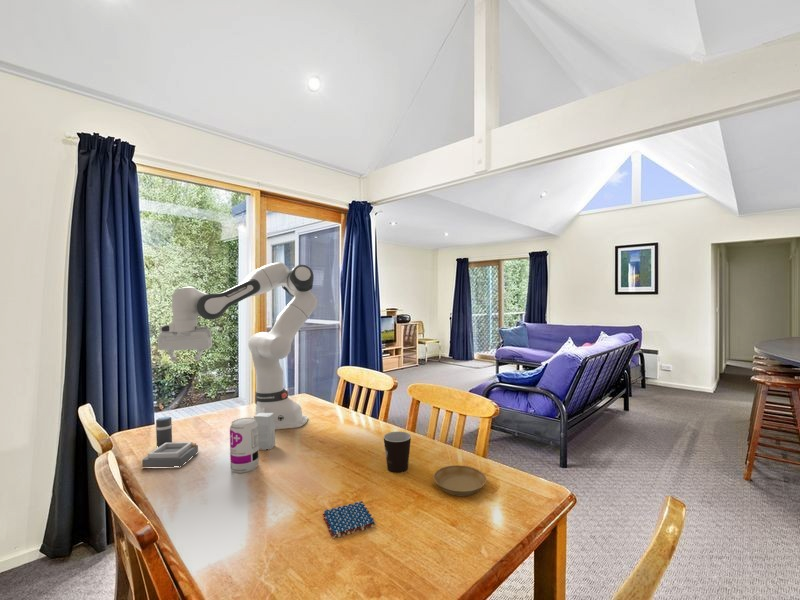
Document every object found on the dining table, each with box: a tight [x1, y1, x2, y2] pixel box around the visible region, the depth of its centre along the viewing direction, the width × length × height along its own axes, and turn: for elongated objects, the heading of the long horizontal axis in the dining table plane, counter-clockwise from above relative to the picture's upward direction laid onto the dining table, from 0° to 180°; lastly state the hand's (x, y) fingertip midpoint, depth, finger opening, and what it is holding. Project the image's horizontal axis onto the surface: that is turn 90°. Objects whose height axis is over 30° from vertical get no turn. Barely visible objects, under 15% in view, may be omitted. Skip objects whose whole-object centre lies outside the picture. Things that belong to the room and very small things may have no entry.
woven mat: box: [322, 500, 376, 539], centre depth 90 cm, size 10×11×2 cm
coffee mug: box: [383, 431, 412, 474], centre depth 118 cm, size 12×9×10 cm
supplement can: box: [229, 417, 260, 474], centre depth 119 cm, size 8×8×15 cm
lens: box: [155, 416, 173, 447], centre depth 137 cm, size 5×5×10 cm
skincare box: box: [253, 413, 276, 451], centre depth 135 cm, size 6×4×12 cm
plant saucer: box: [433, 465, 487, 497], centre depth 106 cm, size 15×15×3 cm
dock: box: [141, 441, 199, 467], centre depth 125 cm, size 12×11×4 cm
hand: (185, 360), depth 151 cm, fingers open, 8 cm apart
